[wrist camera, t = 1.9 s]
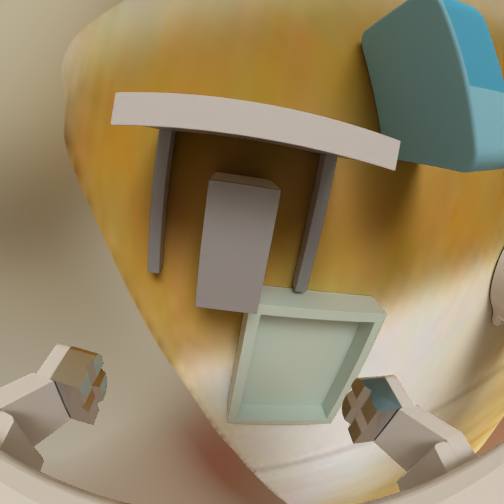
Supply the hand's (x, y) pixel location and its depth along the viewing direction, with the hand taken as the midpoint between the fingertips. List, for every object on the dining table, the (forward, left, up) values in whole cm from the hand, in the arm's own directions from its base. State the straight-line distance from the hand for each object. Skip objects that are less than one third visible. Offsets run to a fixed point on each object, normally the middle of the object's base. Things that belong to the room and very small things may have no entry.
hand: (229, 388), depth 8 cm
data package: (-12, -15, -18) cm, 26 cm away
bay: (0, -2, -17) cm, 18 cm away
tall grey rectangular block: (0, 0, -18) cm, 18 cm away
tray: (-9, +13, -17) cm, 24 cm away
